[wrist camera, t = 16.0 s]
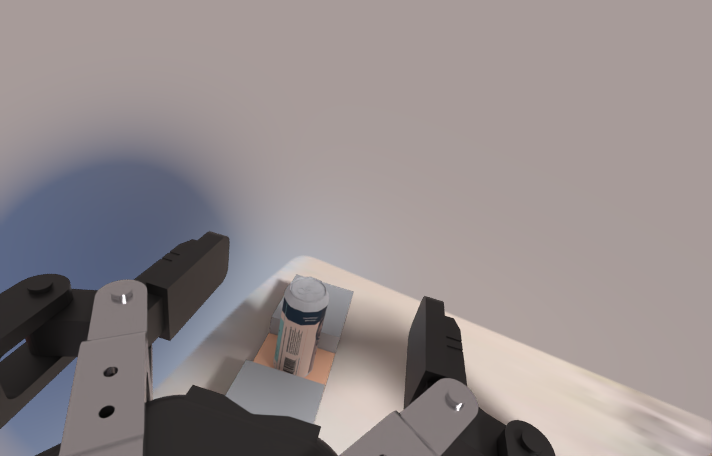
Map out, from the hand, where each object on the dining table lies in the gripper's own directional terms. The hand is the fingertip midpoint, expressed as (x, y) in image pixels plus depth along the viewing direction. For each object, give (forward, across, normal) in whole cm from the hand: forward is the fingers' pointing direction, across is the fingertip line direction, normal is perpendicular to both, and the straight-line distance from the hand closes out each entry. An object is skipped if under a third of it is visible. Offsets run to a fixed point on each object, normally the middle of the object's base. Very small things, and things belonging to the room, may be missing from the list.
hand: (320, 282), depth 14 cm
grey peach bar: (+17, +4, +28) cm, 33 cm away
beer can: (+17, +3, +27) cm, 32 cm away
